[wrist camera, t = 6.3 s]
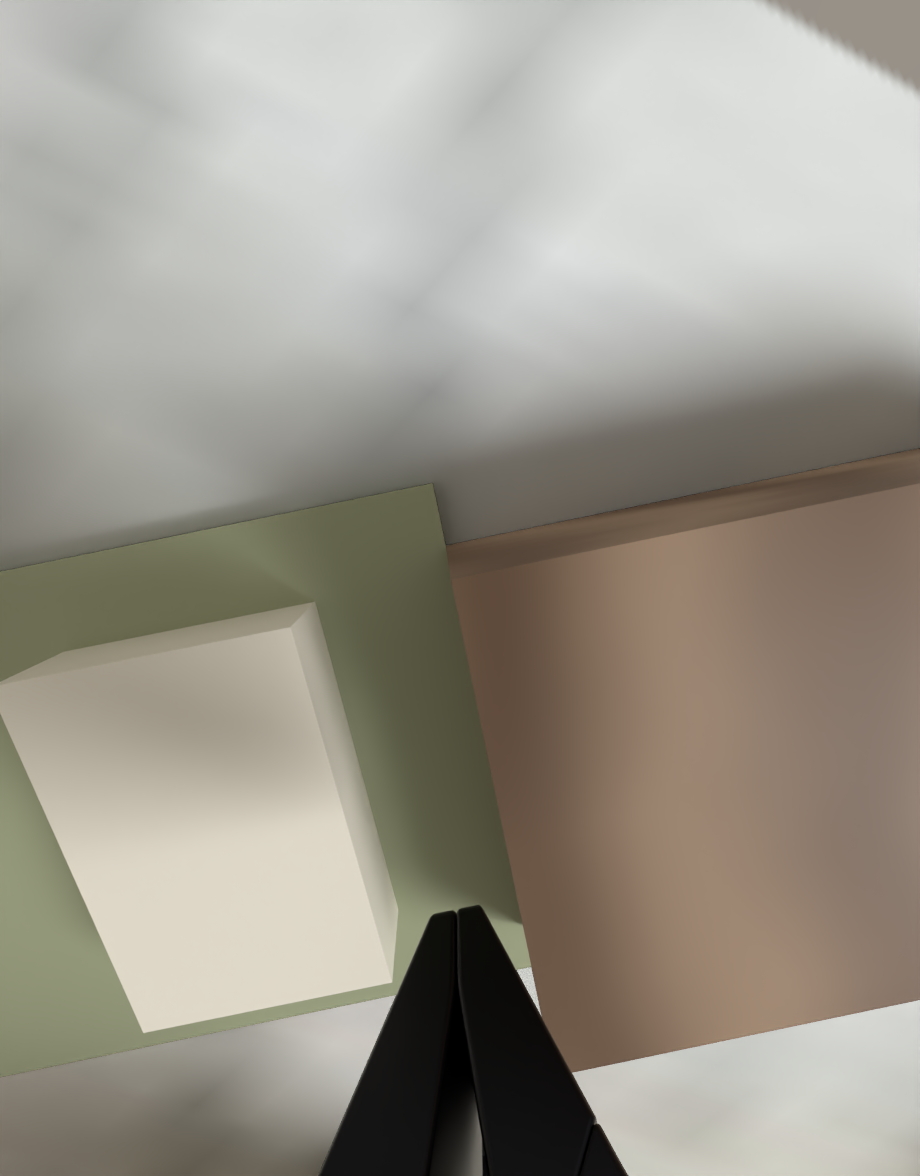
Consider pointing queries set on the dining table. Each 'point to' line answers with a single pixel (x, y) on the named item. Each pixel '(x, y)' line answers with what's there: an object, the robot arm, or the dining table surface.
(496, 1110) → the robot arm
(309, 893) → the cream chamfered block
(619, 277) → the dining table surface
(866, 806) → the brown flat block
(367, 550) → the mat
